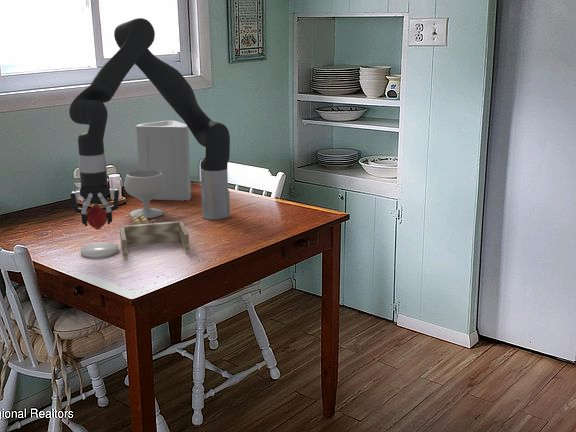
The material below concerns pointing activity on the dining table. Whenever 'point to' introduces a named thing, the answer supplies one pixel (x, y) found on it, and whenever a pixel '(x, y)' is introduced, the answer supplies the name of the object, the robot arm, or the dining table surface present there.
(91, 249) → the white flat disc
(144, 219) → the ammunition
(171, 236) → the wooden plank arch
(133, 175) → the chalice
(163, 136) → the tall white box
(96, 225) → the onion
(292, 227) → the dining table surface
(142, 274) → the dining table surface
